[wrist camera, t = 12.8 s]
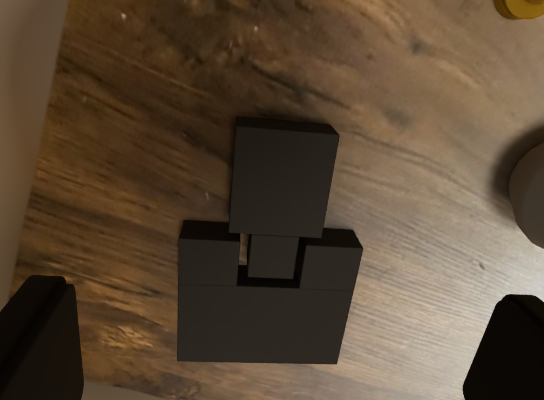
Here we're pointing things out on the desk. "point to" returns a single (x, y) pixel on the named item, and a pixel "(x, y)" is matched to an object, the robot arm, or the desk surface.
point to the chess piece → (520, 8)
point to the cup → (529, 194)
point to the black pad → (279, 189)
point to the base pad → (263, 299)
